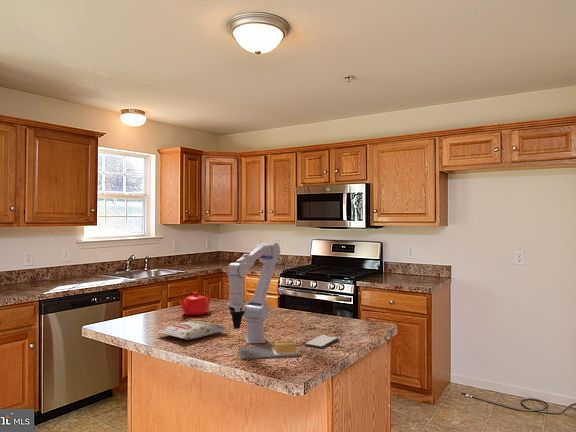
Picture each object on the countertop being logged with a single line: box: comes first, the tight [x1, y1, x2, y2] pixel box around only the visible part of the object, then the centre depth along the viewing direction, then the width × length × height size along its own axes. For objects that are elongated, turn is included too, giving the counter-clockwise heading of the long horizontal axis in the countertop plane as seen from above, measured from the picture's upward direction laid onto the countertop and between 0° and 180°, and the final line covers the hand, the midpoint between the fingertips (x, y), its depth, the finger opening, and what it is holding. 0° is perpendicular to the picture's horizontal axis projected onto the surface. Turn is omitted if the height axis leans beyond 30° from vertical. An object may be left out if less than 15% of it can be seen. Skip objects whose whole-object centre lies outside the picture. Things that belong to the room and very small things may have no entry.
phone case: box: [304, 334, 339, 350], centre depth 180 cm, size 9×2×16 cm
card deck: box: [273, 339, 297, 352], centre depth 168 cm, size 8×5×3 cm, turn 100°
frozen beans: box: [157, 320, 229, 341], centre depth 192 cm, size 21×6×25 cm
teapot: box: [178, 291, 211, 316], centre depth 237 cm, size 25×16×12 cm, turn 149°
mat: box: [238, 345, 302, 361], centre depth 166 cm, size 14×23×1 cm, turn 100°
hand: (236, 326), depth 170 cm, fingers open, 7 cm apart
